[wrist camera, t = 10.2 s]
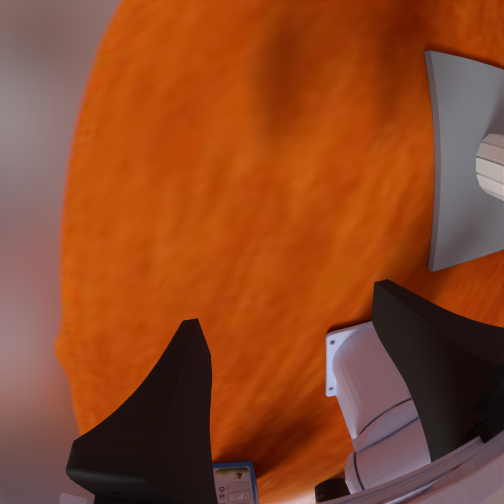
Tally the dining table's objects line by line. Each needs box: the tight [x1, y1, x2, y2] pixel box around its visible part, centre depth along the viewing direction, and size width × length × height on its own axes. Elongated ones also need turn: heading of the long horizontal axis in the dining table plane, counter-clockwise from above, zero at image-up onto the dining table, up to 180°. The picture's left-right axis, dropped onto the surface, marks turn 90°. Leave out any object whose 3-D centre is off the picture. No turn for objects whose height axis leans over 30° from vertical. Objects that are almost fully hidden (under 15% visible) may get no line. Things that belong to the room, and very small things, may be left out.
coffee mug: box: [315, 478, 351, 504], centre depth 40 cm, size 12×9×10 cm
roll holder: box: [424, 51, 504, 272], centre depth 17 cm, size 18×14×3 cm
